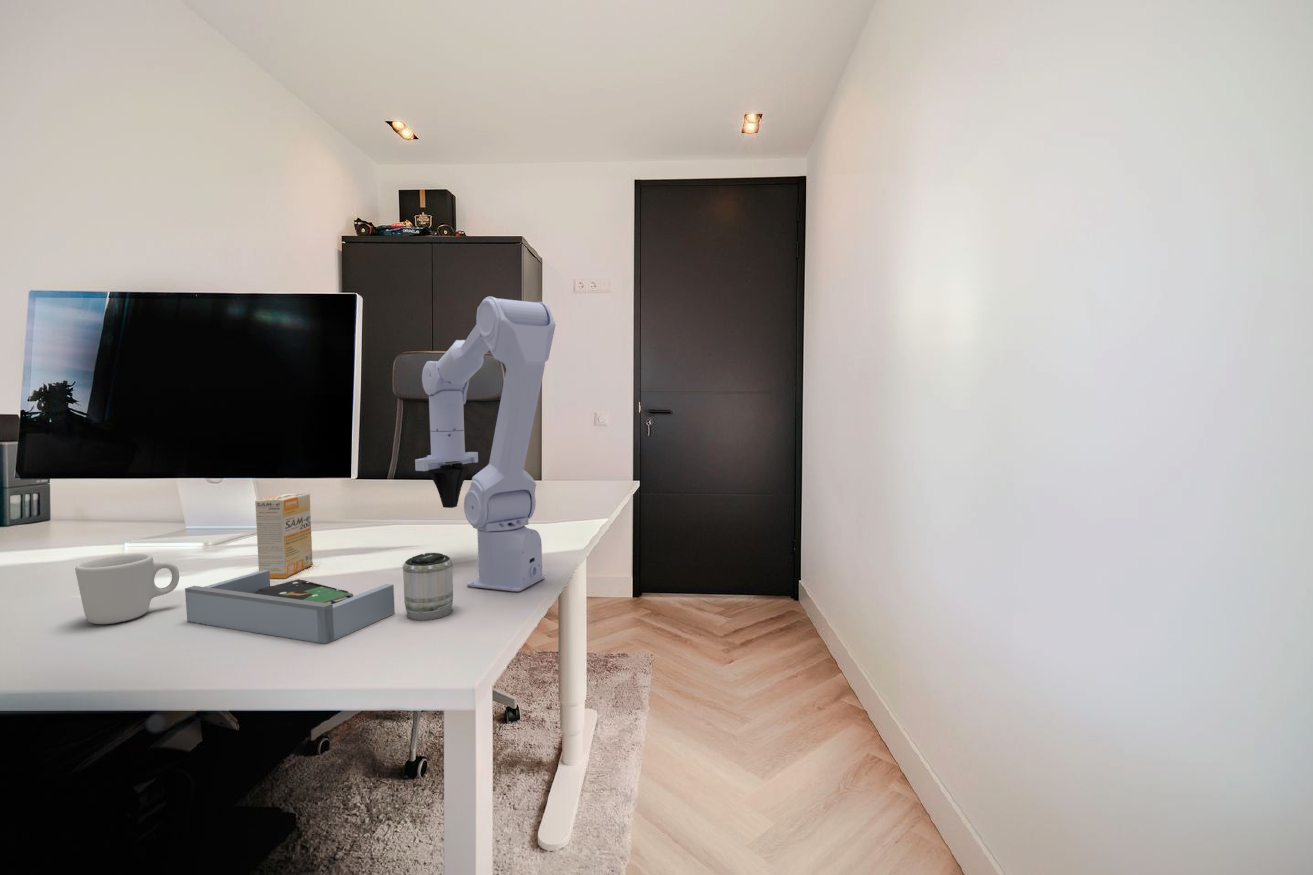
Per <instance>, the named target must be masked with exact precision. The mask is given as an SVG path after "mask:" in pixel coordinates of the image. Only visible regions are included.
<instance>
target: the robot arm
mask: <svg viewBox="0 0 1313 875" xmlns="http://www.w3.org/2000/svg"><path fill="white" fill-rule="evenodd" d="M555 330H556V321H555V320H554V317H553V314H552V311H551V308H550V307H549V306H548V305H547V304H546V302H543V301H537V302H536V301H535V302H534V301H526V300H515V299H506V298H497V297H494V296H487V297H485V298H483V300H482V301H481V302H480V304H479V306H477V310H476V322H475V326H474V327H473V328H472V330H471V332H470V333H469V335H468V336H467V337H466V339H461V340H460V339H456V340H455V341H454V342H453V344H452V345H451V346H450V347H449V349H448V350H446V352H445V353H444V354H443V355H442V356H441V357H440V359H439V360H437V361H435V360H428V361H426V363H425V364H424V366H423V369H422V372H421V384H422V388H423V390H424V392H425V394H427V395H428V404H429V405H428V408H429V409H428V410H429V411H428V412H429V434H430V439H429V440H430V454H427V455H426V457H422V458H417V459H415V460H414V464H415V468H414V469H415V471H416V472H427V474H428V475H429V477H430V478H431V480H432V482H433V483H434V485H435V487H436V490H437V492H438V495H439V498H440V501H441V504H442V508H445V509H453V508H456V507H457V508H458V503H459V499H460V495H461V494H460V493H461V490H462V487H463V483H464V481H465V479H466V477H467V475H468V473H469V472H470V466H468V465H465V464H471V463H474V464H476V463H479V452H478V451H467V452H466V444H465V443H466V442H465V420H464V419H465V418H464V416H465V415H464V405H466V404H467V403H466V402H467V392H468V390H469V384H470V379H471V378H472V377H473V376H474V375H475V374H476V373H477V372H478V371H479V370H480V369H481V368H482V366H483V365H484V360H485V359H484V355H486V354H487V353H488V352H489V353H491V355H492V357H493V358H494V359H495V360H497V361H498V362H500V363H502V364H503V365H504V367H505V375H504V379H503V380H504V381H503V386H502V391H501V397H500V402H499V408H498V413H497V419H496V424H495V430H494V434H493V440H492V446H491V451H490V456H489V462H488V464H487V465H486V466H485V467H483V468H482V469H481V470H479V472H477V473H476V474H475V475H473V476H472V478H471V483H470V486H469V488H468V490H467V492H466V494H465V496H464V500H463V511H464V515H465V519H466V520H467V522H468V523H469V524H470V526H472V528H473V529H476V530H477V531H476V532H477V534H476V535H477V557H478V559H477V560H478V561H477V562H478V577H477V578H475V579H473V580H471V581H469V582H467V583H466V587H471V588H480V589H490V590H497V591H498V590H499V591H509V592H521V591H523V590H525V589H526V588H528V587H530V586H533V585H534V584H536V583H538V582H540V581H542V580H544V579H545V578H546V575H545V574H543V553H542V552H543V551H542V550H543V549H542V546H543V545H542V538H541V535H540V533H539V531H538V530H536V529H532V528H528V527H527V526H528V525H529V520H530V519H532V517H533V516H534V513H535V510H536V504H537V502H536V487H537V483H536V482H535V479H534V478H533V476H531V474H529V472H527V471H526V470H525V464H526V459H527V455H528V449H529V445H530V441H531V436H532V430H533V425H534V420H535V417H536V416H535V415H536V413H537V412H536V411H537V406H538V401H539V397H540V392H541V387H542V381H543V376H544V372H545V366H546V362H547V361H549V358H550V353H551V350H552V345H553V344H552V343H553V339H554V335H555Z"/></svg>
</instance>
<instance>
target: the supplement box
mask: <svg viewBox="0 0 1313 875" xmlns="http://www.w3.org/2000/svg"><path fill="white" fill-rule="evenodd" d="M310 494H311V493H308V492H307V493H305V492H304V493H303V492H300V493H299V492H297V493H296V492H295V493H294V492H293V493H284V494H280V495H275V496H271V497H267V498H262V499H257V500H255V501H254V502H255V503H254V504H255V519H256V520H255V522H256V539H257V540H256V541H257V559H258V571H262V570H268V571H270V579H286V578H288V577H290V576H292V575H295V574H297V573H298V572H300V571H302V570H305V569H307V568H309V567H311V566H313V549H312V548H313V547H312V546H313V542H312V541H313V540H312V538H313V537H312V521H311V519H312V518H311V517H312V515H311V495H310Z"/></svg>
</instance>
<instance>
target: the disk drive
mask: <svg viewBox="0 0 1313 875" xmlns="http://www.w3.org/2000/svg"><path fill="white" fill-rule="evenodd" d="M253 594H261V595H268V596H276V597H283V598H291V599H298V600H306V601H313V602H321V603H329V604H335V603H337V602H340V601H343V600H345V599H348V598H351V597H353V596H354V593H353V592H350V591H348V590H344V589H339V588H335V587H332V586H327V585H323V584H320V583H315V582H312V581H308V580H305V579H295V580H291V581H286V582H282V583H280V584H279V583H278V584H275V585H270V586H269V587H265V588H261V589H259V590H258V591H257V592H255V593H253Z"/></svg>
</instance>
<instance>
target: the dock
mask: <svg viewBox="0 0 1313 875" xmlns="http://www.w3.org/2000/svg"><path fill="white" fill-rule="evenodd" d="M269 586H271V578H270V571H268V570H262V571H259V570H258V571H255V572H252V573H248V574H244V575H241V576H238V577H234V578H230V579H225V580H224V581H220V582H217V583H213V584H209V585H205V586H201V585H200V586H198V585H193V586H188V587H186V588H184V591H185V592H184V594H185V608H186V609H185V610H186V622H187V621H191V622H190V623H193V622H196V623H195V624H199V623H202V624H201V625H205V624H206V626H207V625H208V626H214V627H218V628H225V629H231V630H237V631H243V632H250V633H256V634H262V635H268V636H275V637H280V638H286V639H287V638H288V639H293V640H297V641H299V640H300V641H304V642H305V641H306V642H311V643H317V644H322V645H328V644H329V643H332V642H334V641H336V640H338V639H340V638H344V637H346V636H348V635H349V634H352V633H354V632H357V631H359V630H361V629H363V628H366V627H368V626H369V625H373V624H374V623H377V622H379V621H381V620H384V619H387V618H388V617H390V616H392V615H395V612H396V610H395V608H396V607H395V588H394V584H391V583H385V584H383V585H379V586H377V587H374V588H372V589H370V590H367V591H364V592H362V593H359V594H355V595H353V597H351V598H348V599H345V600H343V601H340V602H337V603H335V604H329V603H321V602H313V601H306V600H298V599H291V598H283V597H276V596H268V595H261V594H253V593H255V592H257V591H258V590H259V589H261V588H265V587H269ZM197 622H198V623H197Z"/></svg>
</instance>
